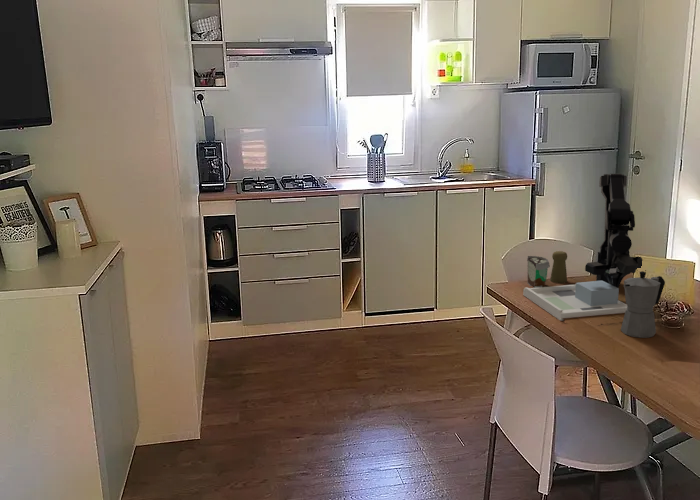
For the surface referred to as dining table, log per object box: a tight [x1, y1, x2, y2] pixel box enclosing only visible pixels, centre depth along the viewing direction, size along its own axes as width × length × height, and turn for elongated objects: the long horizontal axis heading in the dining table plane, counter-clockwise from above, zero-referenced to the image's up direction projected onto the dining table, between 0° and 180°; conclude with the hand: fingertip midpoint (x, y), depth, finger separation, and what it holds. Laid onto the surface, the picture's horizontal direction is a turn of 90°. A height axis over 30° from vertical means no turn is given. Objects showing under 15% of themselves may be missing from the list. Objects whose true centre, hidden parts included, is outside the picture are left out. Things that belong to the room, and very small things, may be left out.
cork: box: [549, 250, 568, 284], centre depth 232 cm, size 6×6×11 cm
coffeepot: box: [620, 271, 666, 339], centre depth 180 cm, size 15×9×18 cm, turn 115°
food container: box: [526, 255, 550, 288], centre depth 226 cm, size 12×6×10 cm, turn 179°
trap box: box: [522, 283, 627, 322], centre depth 207 cm, size 26×26×3 cm
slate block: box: [575, 280, 620, 306], centre depth 208 cm, size 10×10×5 cm
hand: (614, 291), depth 209 cm, fingers closed
